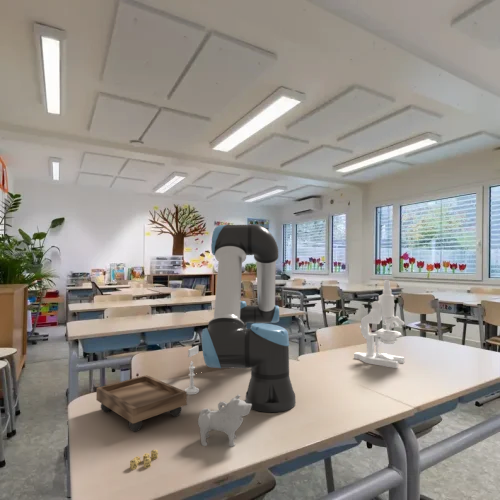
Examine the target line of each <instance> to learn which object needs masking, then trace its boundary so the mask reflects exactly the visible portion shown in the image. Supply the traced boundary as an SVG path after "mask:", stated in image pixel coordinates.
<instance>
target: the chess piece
mask: <svg viewBox="0 0 500 500" xmlns="http://www.w3.org/2000/svg"><path fill="white" fill-rule="evenodd" d="M193 361H194V360H190V364H189V366H188V370H189V373H188V377H189V385H188V387H186V388H184V390H183V391H185V392H187V395H197V394H199V393H200V388H198V387H196V386H195V382H194V376H196V374H195V373H194V372H195V367H196V366H194V362H193Z"/></svg>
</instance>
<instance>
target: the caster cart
mask: <svg viewBox="0 0 500 500" xmlns="http://www.w3.org/2000/svg"><path fill="white" fill-rule="evenodd" d="M187 396H188V394H187V392H185V391H184V390H183V389H180V388H178V387H176V386H173V385H171V384H169V383H167V382H165V381H162V380H159V379H157V378H154V377H152V376H150V375H148V374H147V375H146V374H145V375H143V376H139V377H134V378H129V379H126V380H122V381H118V382H114V383H111V384H107V385H106V384H105V385H103V386H99V387H96V401H97V402H99V403H101V404H100V409H101V410H102V411H103V412H105V413H108V412H111V411H113V412H114V413H116V414H117V415H119V416H121V418H123V419H125V420H126V421H127V422H128V428H129V429H130V430H131V431H133V432H137V431H139V430H141V428H142V426H143V421H144V420H147V419H150V418H153V417H156V416H158V415H159V416H160V415H161V414H165V413H166V412H169V414H170V415H171V416H173V417H178V416H179V415H180V414H181V412H182V407H184V406H187V405H188V403H187V399H188V398H187Z"/></svg>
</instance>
